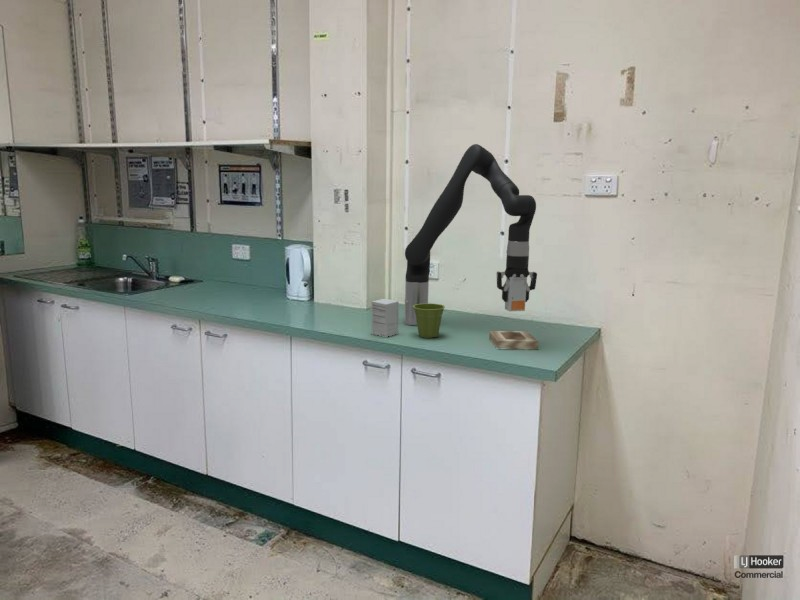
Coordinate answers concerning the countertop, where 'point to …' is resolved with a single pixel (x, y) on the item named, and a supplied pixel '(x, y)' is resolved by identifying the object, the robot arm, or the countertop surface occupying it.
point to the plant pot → (428, 319)
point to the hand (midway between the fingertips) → (515, 301)
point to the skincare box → (516, 294)
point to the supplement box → (385, 317)
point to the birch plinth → (513, 339)
